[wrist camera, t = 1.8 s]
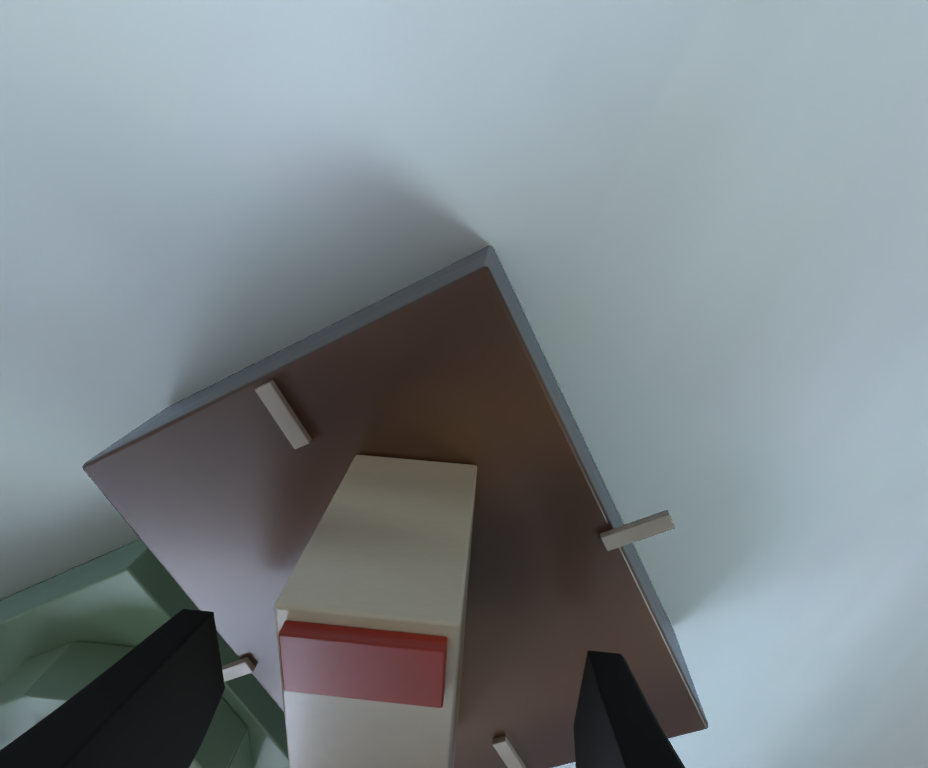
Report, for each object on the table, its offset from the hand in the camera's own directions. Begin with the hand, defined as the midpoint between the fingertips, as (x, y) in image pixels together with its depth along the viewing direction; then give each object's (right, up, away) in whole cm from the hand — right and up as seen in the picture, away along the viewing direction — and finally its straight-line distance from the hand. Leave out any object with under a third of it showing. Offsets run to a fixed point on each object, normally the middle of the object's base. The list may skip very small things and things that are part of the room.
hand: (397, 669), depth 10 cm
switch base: (0, +2, +4) cm, 5 cm away
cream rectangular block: (0, +1, +1) cm, 2 cm away
